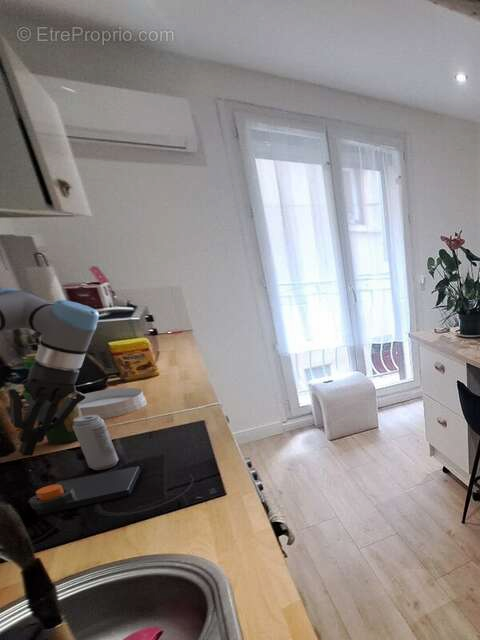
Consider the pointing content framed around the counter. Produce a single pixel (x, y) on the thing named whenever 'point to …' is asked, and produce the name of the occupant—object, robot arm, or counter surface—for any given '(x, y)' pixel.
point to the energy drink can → (95, 442)
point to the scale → (89, 490)
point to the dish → (112, 402)
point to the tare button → (49, 492)
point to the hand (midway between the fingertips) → (25, 453)
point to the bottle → (65, 430)
